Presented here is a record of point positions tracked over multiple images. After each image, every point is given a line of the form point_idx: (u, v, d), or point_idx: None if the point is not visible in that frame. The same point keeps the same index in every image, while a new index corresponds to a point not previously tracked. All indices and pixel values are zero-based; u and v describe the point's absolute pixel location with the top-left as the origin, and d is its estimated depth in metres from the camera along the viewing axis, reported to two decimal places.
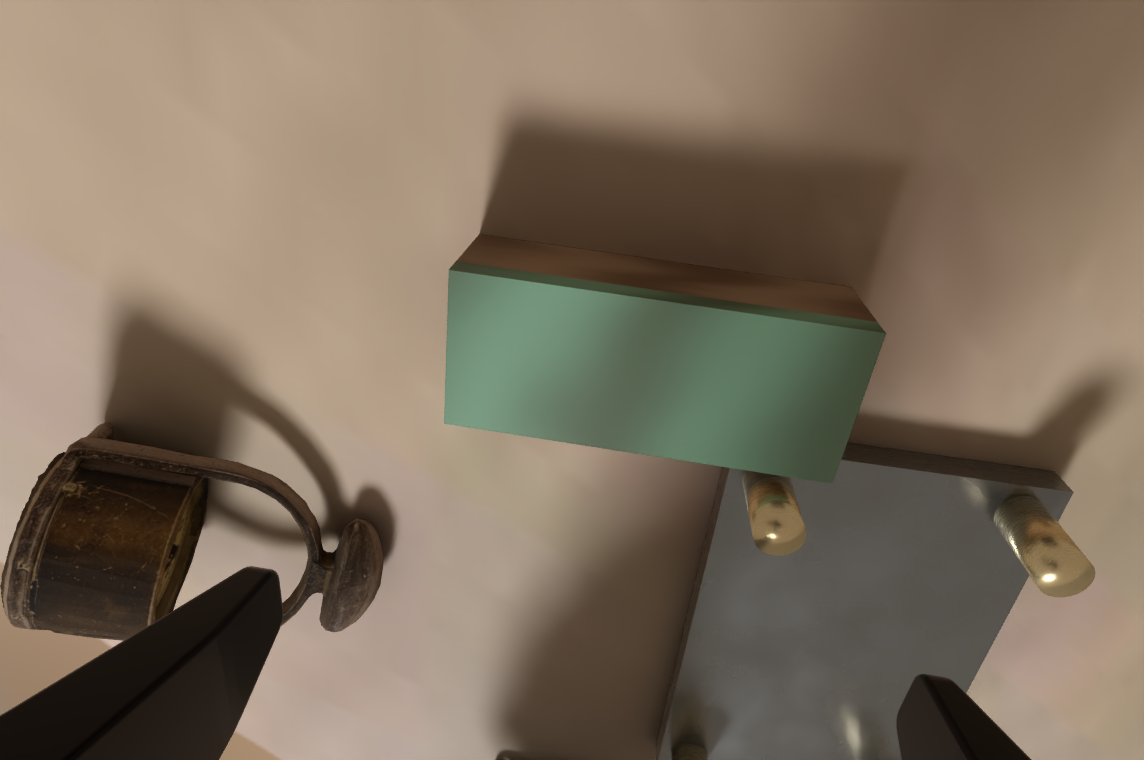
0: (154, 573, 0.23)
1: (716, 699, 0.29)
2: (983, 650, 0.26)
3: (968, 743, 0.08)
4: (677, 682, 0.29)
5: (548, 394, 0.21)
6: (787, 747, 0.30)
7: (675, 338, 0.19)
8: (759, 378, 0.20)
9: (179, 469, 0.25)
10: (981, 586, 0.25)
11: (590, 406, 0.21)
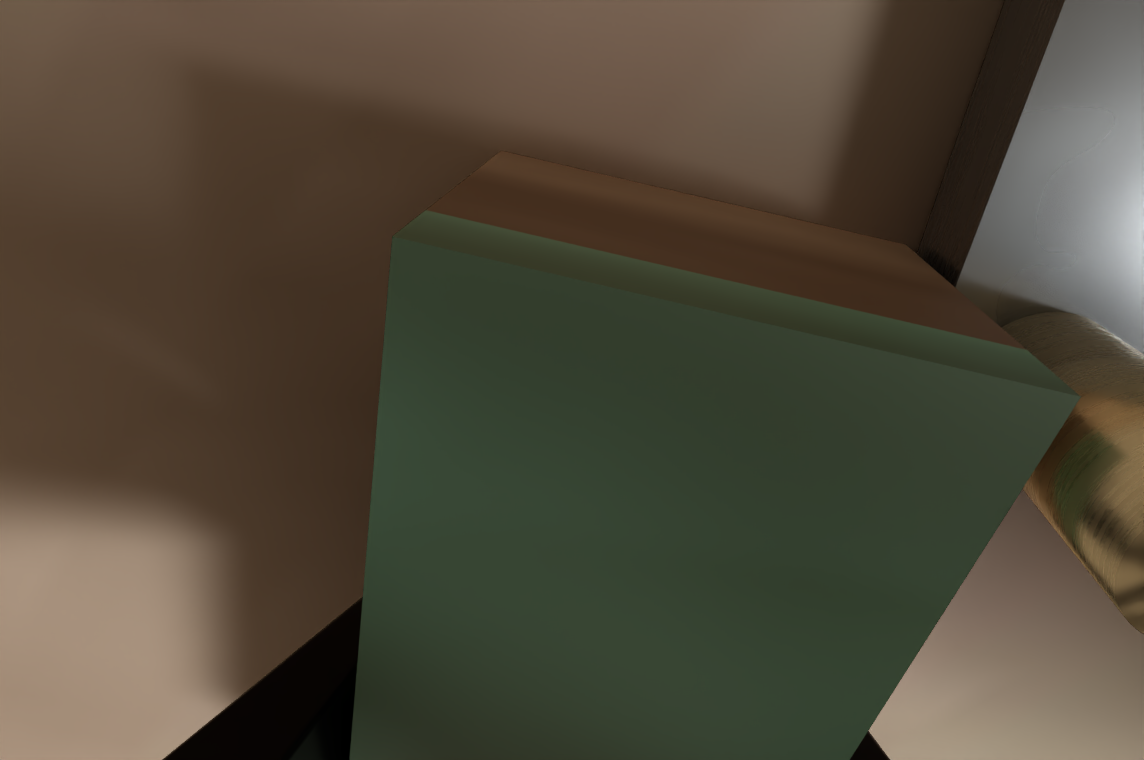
0: None
1: None
2: None
3: None
4: None
5: None
6: None
7: (446, 747, 0.07)
8: (568, 596, 0.06)
9: None
10: None
11: None
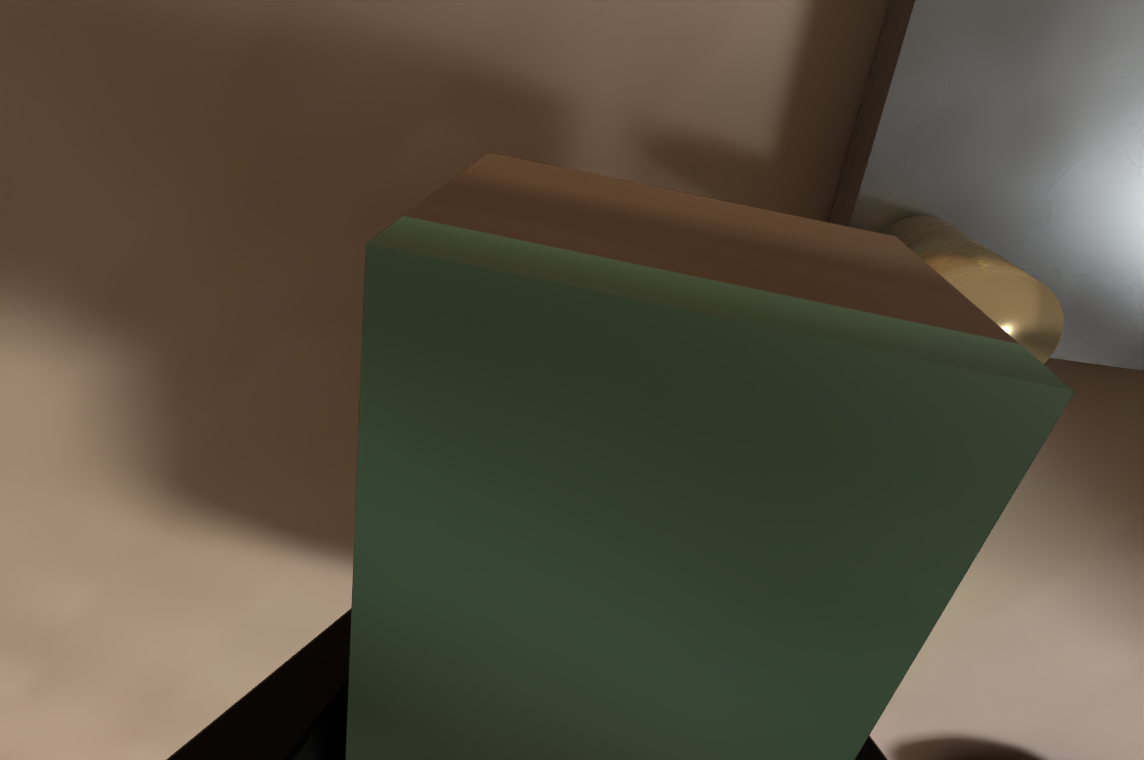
0: None
1: None
2: None
3: None
4: None
5: None
6: None
7: (441, 759, 0.07)
8: (559, 604, 0.06)
9: None
10: None
11: None
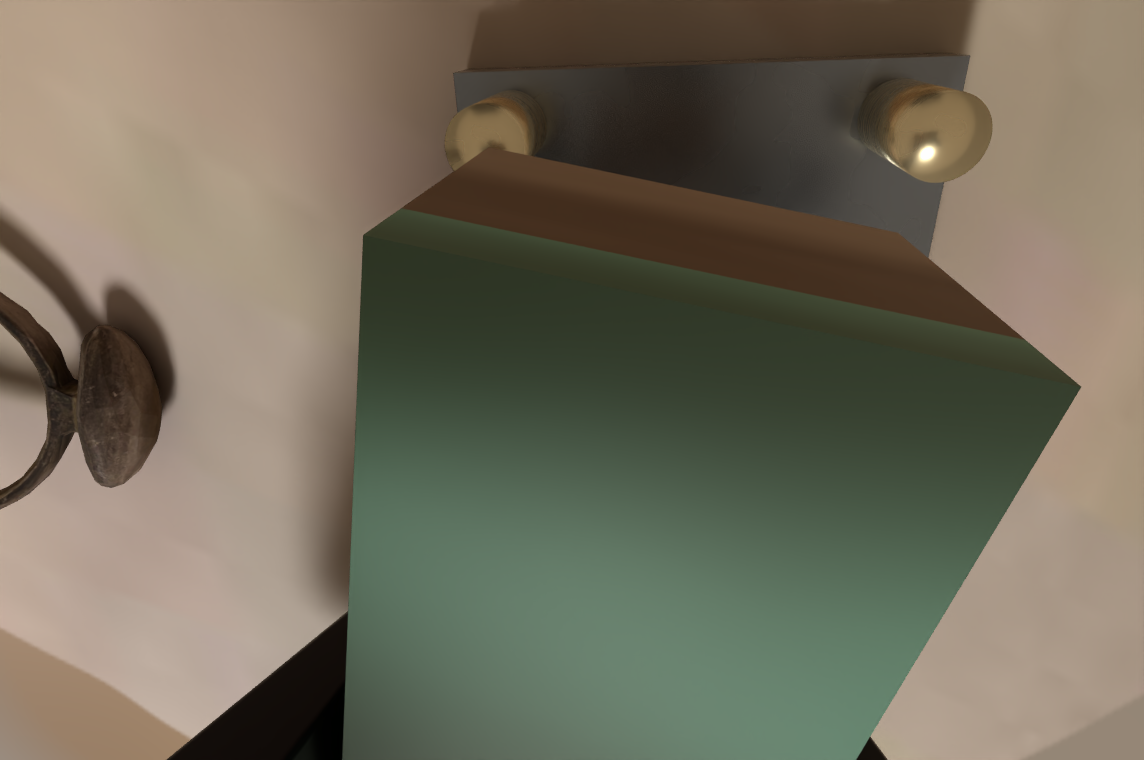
0: None
1: None
2: None
3: None
4: None
5: None
6: None
7: (439, 758, 0.07)
8: (558, 602, 0.06)
9: None
10: None
11: None
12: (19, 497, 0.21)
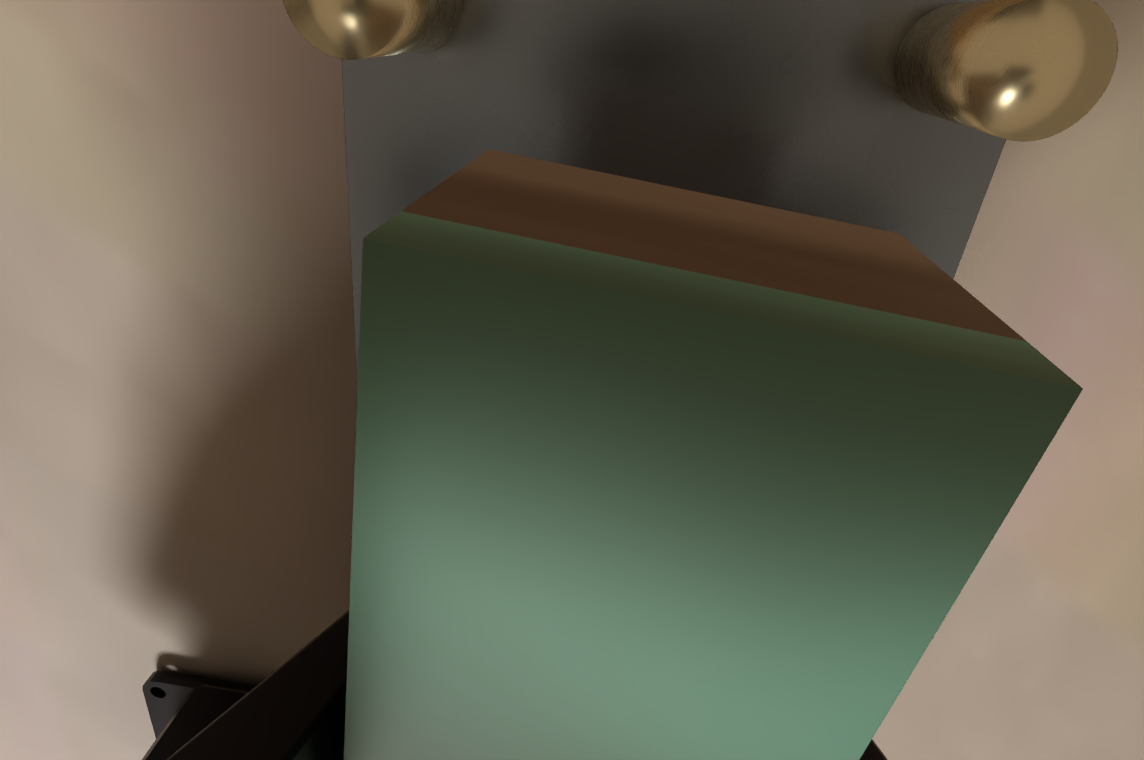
0: None
1: None
2: None
3: None
4: None
5: None
6: None
7: None
8: (559, 604, 0.06)
9: None
10: None
11: None
12: None
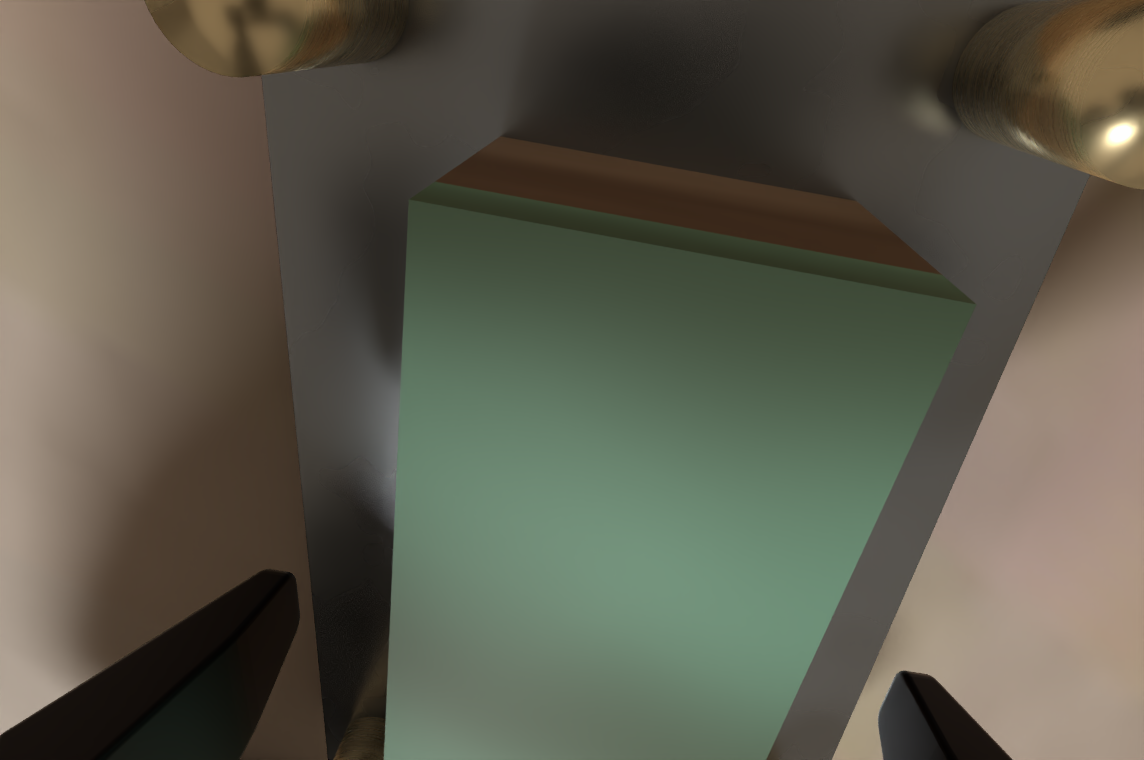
0: None
1: None
2: (935, 495, 0.11)
3: (946, 739, 0.08)
4: (313, 587, 0.14)
5: None
6: None
7: (470, 654, 0.09)
8: (568, 505, 0.07)
9: None
10: None
11: None
12: None
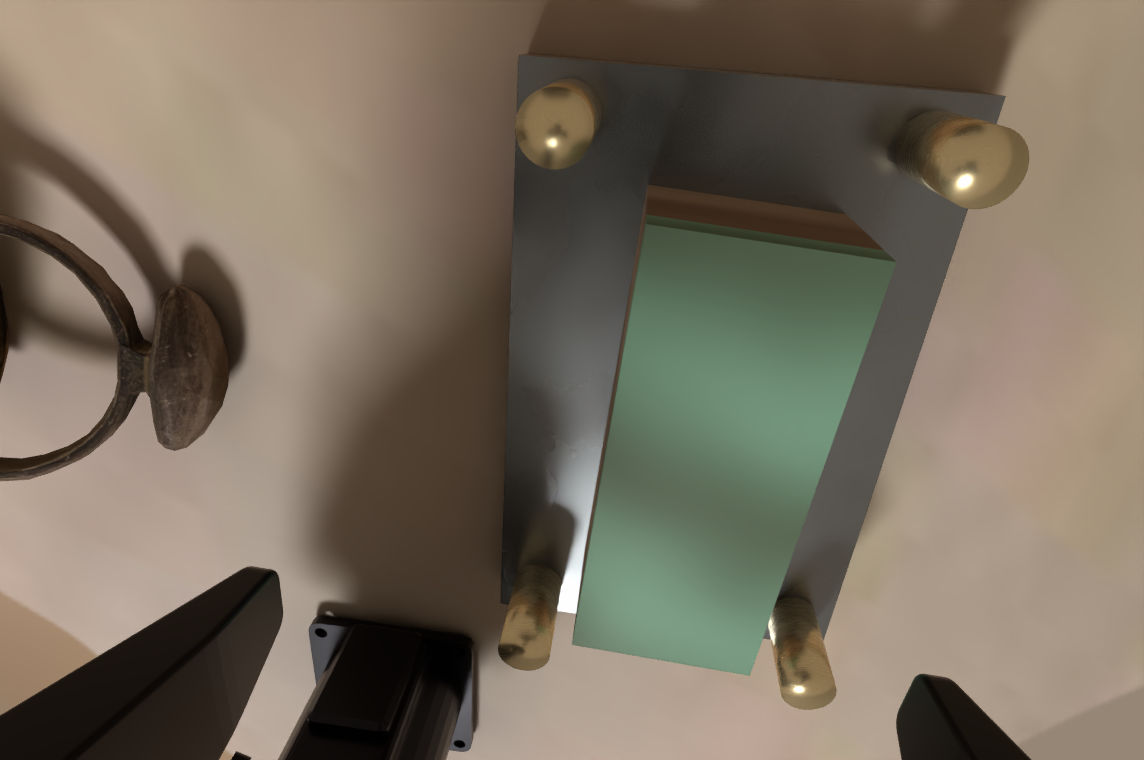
0: None
1: (559, 492, 0.22)
2: (900, 387, 0.19)
3: (968, 743, 0.08)
4: (505, 469, 0.22)
5: (717, 582, 0.18)
6: None
7: (649, 459, 0.16)
8: (707, 369, 0.15)
9: None
10: None
11: (736, 545, 0.17)
12: (82, 456, 0.21)
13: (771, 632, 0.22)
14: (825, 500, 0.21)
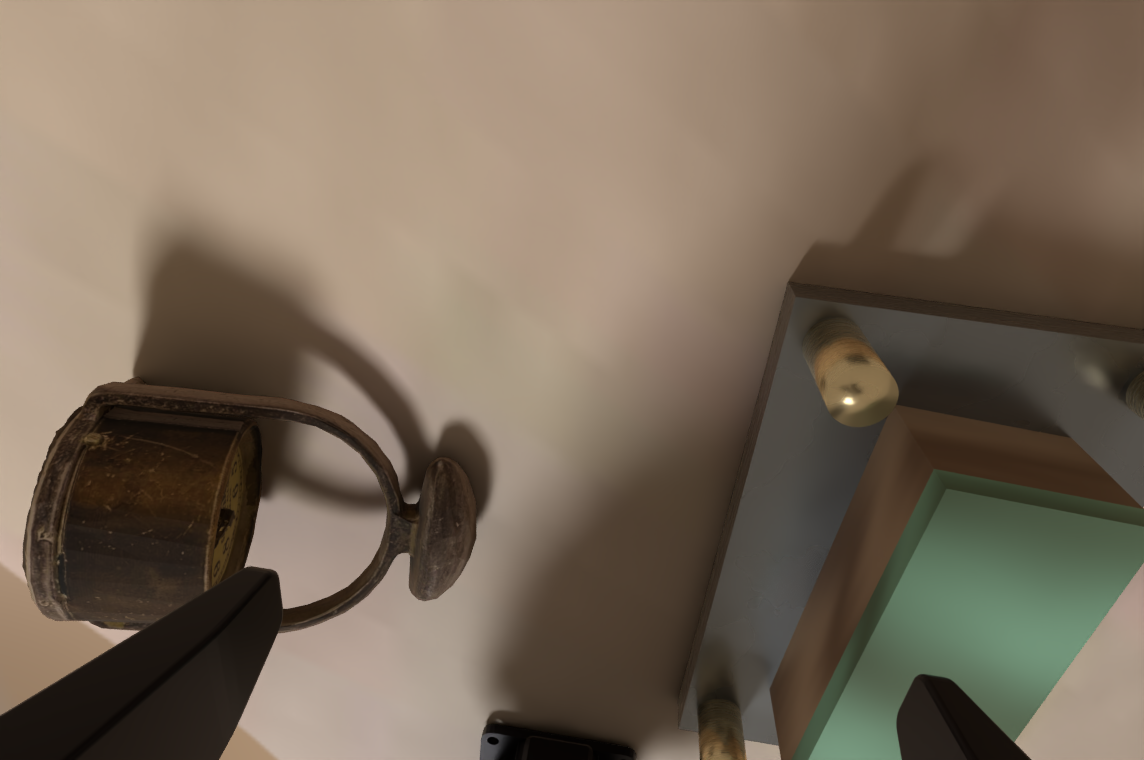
0: (204, 533, 0.19)
1: (756, 642, 0.24)
2: None
3: (968, 743, 0.08)
4: (708, 620, 0.24)
5: None
6: None
7: (900, 662, 0.18)
8: (973, 598, 0.17)
9: (222, 409, 0.20)
10: None
11: None
12: (347, 609, 0.23)
13: None
14: None
